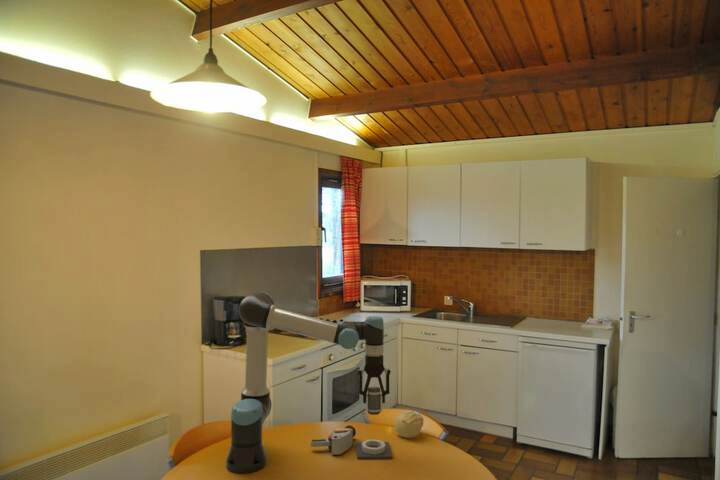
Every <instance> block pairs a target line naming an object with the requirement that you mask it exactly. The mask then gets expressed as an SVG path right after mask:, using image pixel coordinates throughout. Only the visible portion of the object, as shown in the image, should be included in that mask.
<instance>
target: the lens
mask: <svg viewBox="0 0 720 480" xmlns="http://www.w3.org/2000/svg"><path fill="white" fill-rule="evenodd" d="M367 394H368V412H367V414H369V415H371V416H372V415H373V416H377V415H380V414H381V412H380V394H381V388H380V386H369V387H368V391H367Z"/></svg>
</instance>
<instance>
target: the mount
mask: <svg viewBox="0 0 720 480" xmlns="http://www.w3.org/2000/svg"><path fill="white" fill-rule="evenodd" d="M355 449H356V450H355V452H356V460H393V453H392V450H391V446H390V442H389V441H382V440H380V439H366V440H364V441H356V442H355Z"/></svg>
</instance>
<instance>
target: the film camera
mask: <svg viewBox="0 0 720 480" xmlns="http://www.w3.org/2000/svg"><path fill="white" fill-rule="evenodd" d="M356 434H357V431H356V429H355V426H353V425H346V426H345V427H344V428H342V427H341V428H335V429H334V430H333V431H332V432H331V434H330V435H329V436H328V438H327V439H326V438H323V439H311V440H310V447H311V448H312V447H313V448H314V447H317V448H318V447H328V449H329V450H331V455H333V456H335V455H337V456H338V455H341V454H343V453H345V452H346V451H348V450H349V449H350V448H351V447H352V446H353V441H354V440H353V439H354V438H355V436H356Z"/></svg>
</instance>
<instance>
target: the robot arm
mask: <svg viewBox="0 0 720 480" xmlns="http://www.w3.org/2000/svg"><path fill="white" fill-rule="evenodd" d="M240 301H241V302H240V303H239V306H238V316H239V318H240V319H241V321H242V322H243V327H244V328H245V329H246V352H245V356H246V357H245V383H244V388H243V389H242V390H241V391H240V392H241V393H240V400H238V401H237V402H235V403H234V404H233V405H232V407H231V412H230V418H231V419H230V420H231V421H230V422H231V423H230V424H231V427H230V429H231V431H230V433H231V436H230V437H231V439H230V440H231V443H230V448H229V451H228V454H227V457H226V460H225V461H226V462H225V465H226V469H227V470H228V471H230V472H233V473H237V474H249V473H253V472H256V471H258V470H259V471H260V470H261V469H263V468H264V467H265V466H266V465H267V454H266V452H265V447H264V445H263V424H264V423H265V421H266V419H267V418H268V417H269V415H270V413H271V410H272V400H271V397H270V394H271V391H270V388H268V387H267V376H268V375H267V374H268V342H269V329H270V328H273V329H277V330H280V331H281V330H282V331H285V332H288V333H293V334H295V335H300V336H304V337H309V338H312V339H316V340H320V341H324V342H327V343H332V344H334V345H339V346H341V348H343V349H345V350H351V349H353V348H355V347H356V346H357V345H358V342H359V341H364V343H365V349H364V353H365V356H364V367H363V368H358V369H357V373H358V375H359V376H358V394H359V395H361V396H363V397H362V403H363V404H365V412H366V413H368V388H369V387H370V383H371V380H372V378H373V379H374V378H375V379H376V378H377V379H378V380H377V381H378V385H379V388H380V413H382V412H383V404H385V403H386V396H387V395H389V394H390V375H391V372H392V371H391V369H390V368H386V367H385V366H384V339H385V338H384V337H385V335H384V334H385V332H384V330H385V327H384V325H385V324H384V318H383V317H381V316H378V315H371V316H370V315H369V316H366V317H365V319H364V321H347V320H344V321H337V322H332V321H328V320H324V319H319V318H316V317H312V316H309V315H305V314H301V313H298V312H294V311H290V310H287V309H286V310H285V309H281V308H277V307H276V305H275V301H274V298H273V297H272V296H271V295H270V294H268V293H267V292H263V291H258V292H257V291H256V292H253V293H252V294H249V295H248V296H245V297H244V298H243V299H242V300H240ZM364 372H365V373H364ZM383 373H384V374H385V388H384V384H383V381H382V377H381V375H383ZM364 374H366V376H367V377H366V380H365V384H364V388H363V375H364Z"/></svg>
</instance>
